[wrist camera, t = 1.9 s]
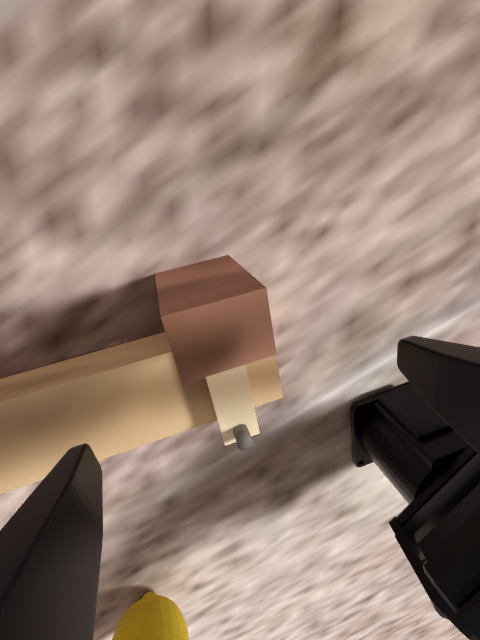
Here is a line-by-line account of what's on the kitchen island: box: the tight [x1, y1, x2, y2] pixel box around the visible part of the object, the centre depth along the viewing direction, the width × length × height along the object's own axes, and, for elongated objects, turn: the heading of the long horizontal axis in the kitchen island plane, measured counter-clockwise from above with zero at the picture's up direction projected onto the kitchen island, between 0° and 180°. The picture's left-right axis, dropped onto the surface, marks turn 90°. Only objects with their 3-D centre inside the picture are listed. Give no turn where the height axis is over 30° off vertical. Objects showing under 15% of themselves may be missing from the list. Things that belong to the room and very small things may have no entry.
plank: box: [0, 332, 283, 494], centre depth 17 cm, size 5×20×2 cm, turn 101°
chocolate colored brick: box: [155, 255, 277, 450], centre depth 16 cm, size 9×4×6 cm, turn 11°
